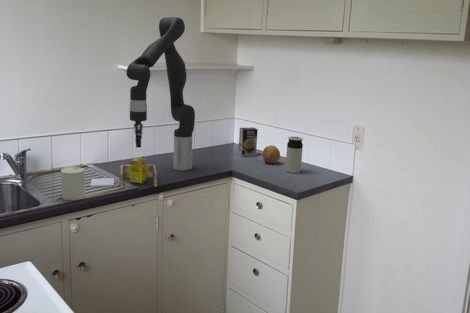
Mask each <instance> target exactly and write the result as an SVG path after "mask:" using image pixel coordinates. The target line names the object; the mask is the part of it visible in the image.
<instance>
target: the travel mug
mask: <svg viewBox="0 0 470 313" xmlns="http://www.w3.org/2000/svg"><path fill="white" fill-rule="evenodd" d="M303 140H304V138H303V137H301V136H288V142H287V146H286V158H285V172H287V173H289V172H290V174H299V173H301V170H302V161H303V160H302V157H303V148H304V146H303V145H304V144H303Z"/></svg>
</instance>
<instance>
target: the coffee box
mask: <svg viewBox="0 0 470 313" xmlns="http://www.w3.org/2000/svg"><path fill="white" fill-rule="evenodd" d="M238 134H239V135H238V136H239V137H238V147H237V148H238V149H237V150H238V151H237V154H238V155H239V156H240V157H241V156H242V157H243V156H248V157H256V156H257V142H258V129H257V128H255V127H239V133H238ZM243 158H244V157H243Z"/></svg>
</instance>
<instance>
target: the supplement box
mask: <svg viewBox="0 0 470 313" xmlns="http://www.w3.org/2000/svg"><path fill="white" fill-rule="evenodd" d="M147 160H148V159H147V158H142V157H134V158H132V159H130V160H129V165H130V178H129V183H130V184H134V185H143V184H144V183H146V182H147V178H148V177H147V165H148V162H147Z"/></svg>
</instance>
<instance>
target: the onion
mask: <svg viewBox="0 0 470 313" xmlns="http://www.w3.org/2000/svg"><path fill="white" fill-rule="evenodd" d="M261 156H262V159H263V160H264V162H265V163H268V164H275V163H277V162H278V161H279V160H280V159H281V158H280V157H281V152H280V149H279V148H278V147H277V146H275V145H267V146H265V148H264V149H263V150H262V155H261Z"/></svg>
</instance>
